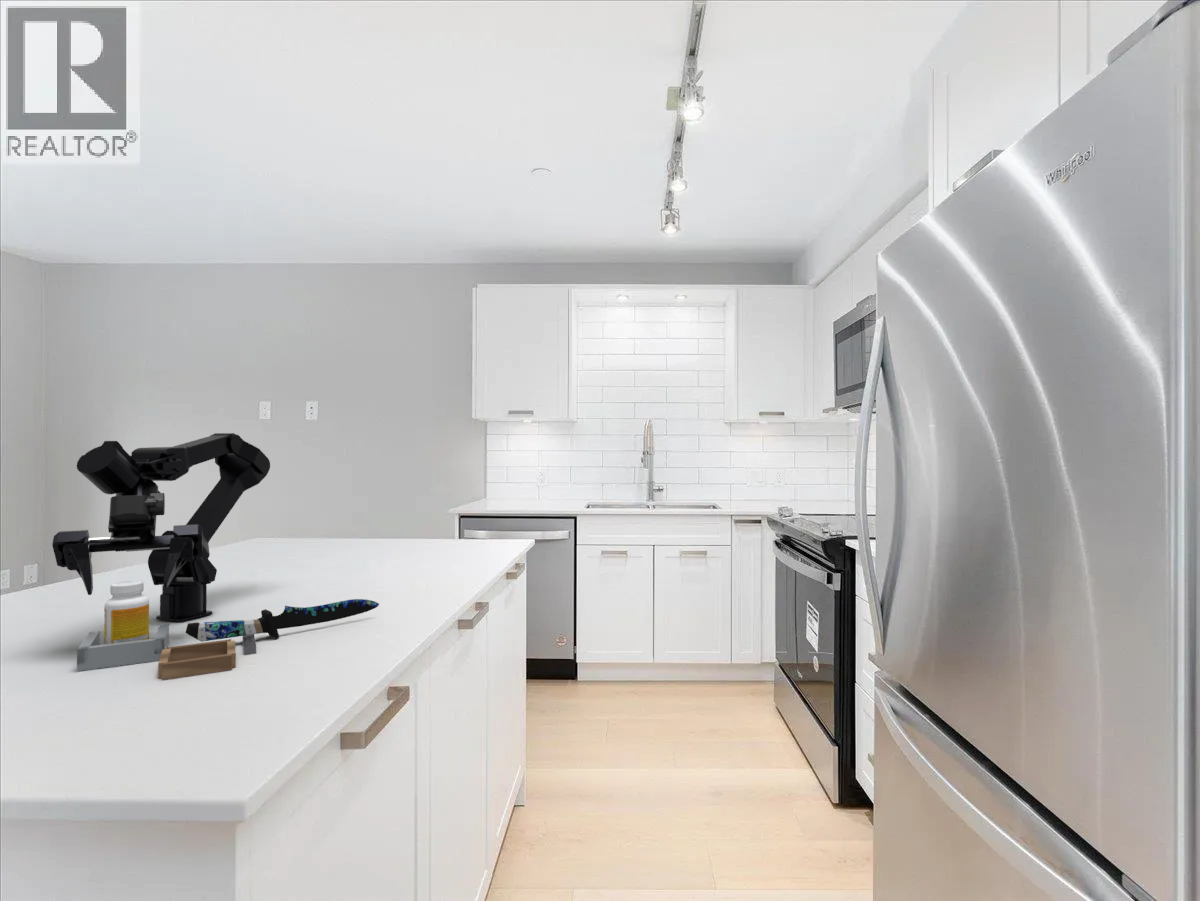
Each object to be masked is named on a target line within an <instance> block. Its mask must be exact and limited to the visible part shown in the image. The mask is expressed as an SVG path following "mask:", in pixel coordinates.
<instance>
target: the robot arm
mask: <svg viewBox="0 0 1200 901" xmlns="http://www.w3.org/2000/svg"><path fill="white" fill-rule="evenodd" d="M130 453H131V455H130V454H129V453H128V451H126V450H125V449H124V448H123V446H122V444H120V442H119V441H117V440H104V441H103V443H102V444H101V445H99V446H97V447H94V448H92V449H90V450H88V451H87V452H86V453H85V454H83V455H81V456H80V457H79V458H78V460H77V463H76V469H77V471H78V472H79V473H80V474H82V475H83V476H84V478H86V479H87V480H88V481H89V482H90V483H92V484H93V485H94V486H95V487H96V488H97V489H98V490H100V491H101V492H102V493H103V494H105V495H113V496H111V497H110V502H109V503H110V504H109V516H108V517H109V518H108V526H107V528H108V533H110V536H109V537H108V536H107V537H106V536H104V537H90V532H89V529H81V530H64V531H63V530H61V531H58V532H57V533H55V535H53V539H52V549H53V554H54V558H55V562H56V566H58V567H60V568H66V569H67V570H69V571H76V572H77V575H79V577H80V578H81V579H82V583H83V585H84V588H85V590H86V593H87V596H91V595H92V594H93V590H94V582H93V579H94V577H93V564H92V557H93V556H92V553H103V552H126V553H127V552H139V551H141V552H142V551H151V552H150V554H149V555H148V557H147V558H148V559H147V565H148V570H149V574H150V576H151V580H152V583H153V585H154V586H162V587H161V588H162V593H161V594H160V595H159V615H156V616H155V617H156V619H157V620H163V621H164V620H165V621H171V622H178V623H179V622H185V621H190V620H192V619H193V620H194V619H197V618H201V617H206V616H210V615H213V611H212V610H207V602H208V601H207V585H209V584H212V582H214V581H215V580H216V576H217V571H218V569H217V568H216V567H215V565H214V564H213V563H212V562H211V561H210V559H209V557H210V554H211V553H210V546H209V542H210V541H211V540H212V538H213V537H214V535H215V534H216V532H217V530H218V529H219V528H220V526H221V525H222V524H223V522H224V521H225V519H226V518H227V516H228V515H229V513H230V512H231V511H232V510H233V508H234V507H235V505H236V503H237V502H238V501H239V499H241V496H242V495H243V493H244V492H246V491H247V490H249V489H251V488H254V487H256V486H258V485H259V484H260V483H261V482H262V481H263V480H264V479H265V478H266V477H267V476H268V473H269V472H270V468H271V461H270V459H269V458H268V457H267V456H266V454H265V453H264V452H263V451H262V450H261V449H260V448H259V447H257V446H255V445H253V444H251V443H249V442H247V441H245V440H244V439H243V438H242V437H241V436H240V435H239V434H235V433H234V432H233V433H232V432H230V433H229V432H228V433H227V432H226V433H225V432H223V433H222V432H221V433H217V432H215V433H214V434H211V435H209V436H206V437H202V438H199V439H195V440H191V441H188V442H185V443H181V444H178V445H177V444H176V445H174V446H158V447H157V446H156V447H155V446H154V447H153V446H152V447H138V448H136V449H134V450H133V451H131V452H130ZM210 460H214V463H215V465H217V466H218V470H219V476H220V479H219V480H218V481H217V483H216V484H215V485H214V487H213V488H212V490H211V491H210V492H209V493H208V495H207V496H206V498H205V499H204V500H203V502H201V504H200V505H199V507H198V508H197V510H196V511H195V512H194V514H192V516H191V517H190V519H189V520H188V521H187V523H185V524H183V525H182V524H179V525H178V524H177V525H173V529H172V530H165V531H164V532H163V533H162V534H161V535H156V529H157V525H156V524H157V516H165V514H166V513H165V510H166V509H165V507H166V504H165V502H166V500H165V499H166V498H165V493H164V492H161V491H160V490H159V486H158V485H157V483H156V482H172V481H176V480H178V479H180V478H181V477H183V476H185V475H186V474H188V473H189V471H190V468H192V467H193V466H196V465H199V464H202V463H205V462H207V461H210Z"/></svg>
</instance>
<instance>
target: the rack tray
mask: <svg viewBox="0 0 1200 901" xmlns="http://www.w3.org/2000/svg"><path fill="white" fill-rule="evenodd" d="M157 629H158V630H157V632H156V634H155V636H154V637H152V638H150V637H149V639H146V640H137V641H129V642H121V643H112V644H104V643H103V644H102V643H101V642H100V640H101V639H100V638H101V636H100V634H101V632H100V631H99V630H98V631H91V632H90V631H89V633H88V634H87V636H86V637H85V638H84V640H83V641H82V643H80V645H79V646H78V648H77V649H76V672H77V671H78V672H83V671H82V670H85V671H91V670H90V669H93V670H98V669H97V668H100V669H106V668H105V667H108V668H113V667H112V666H115V667H120V665H123V666H128V665H127V664H130V665H135V664H137V663H138V664H143V663H151V662H157V661H158V662H159V659H160V656H161V653H162V650H164V649H167V647H169V645H170V644H169V643H170V623H164V624H162V623H161V624H159V626H158V628H157Z"/></svg>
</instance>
